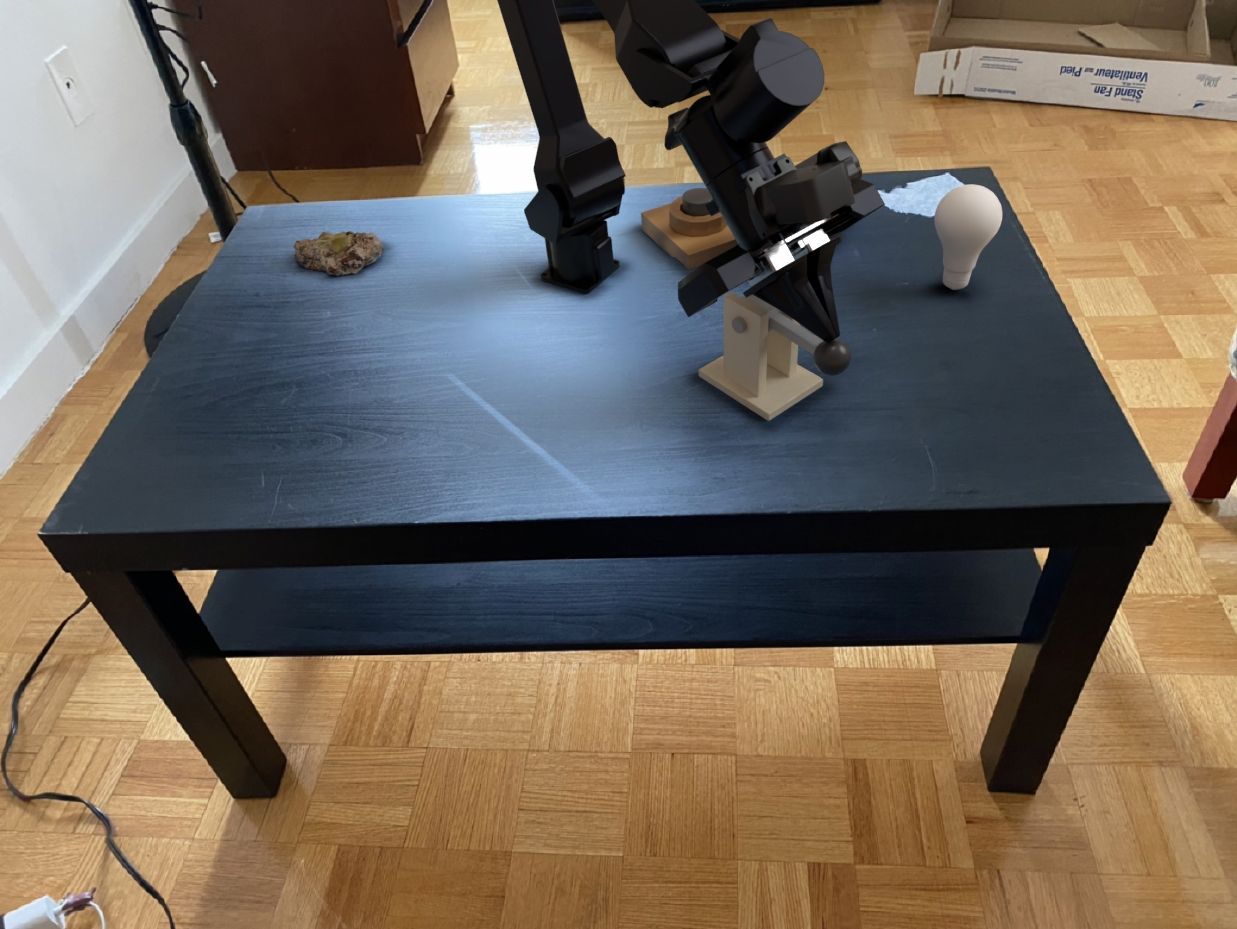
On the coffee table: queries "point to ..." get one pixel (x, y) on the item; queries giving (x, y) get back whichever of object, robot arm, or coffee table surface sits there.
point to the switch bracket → (758, 362)
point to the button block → (687, 233)
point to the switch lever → (808, 340)
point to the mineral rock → (339, 252)
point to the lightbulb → (965, 230)
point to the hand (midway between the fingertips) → (833, 339)
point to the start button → (696, 202)
